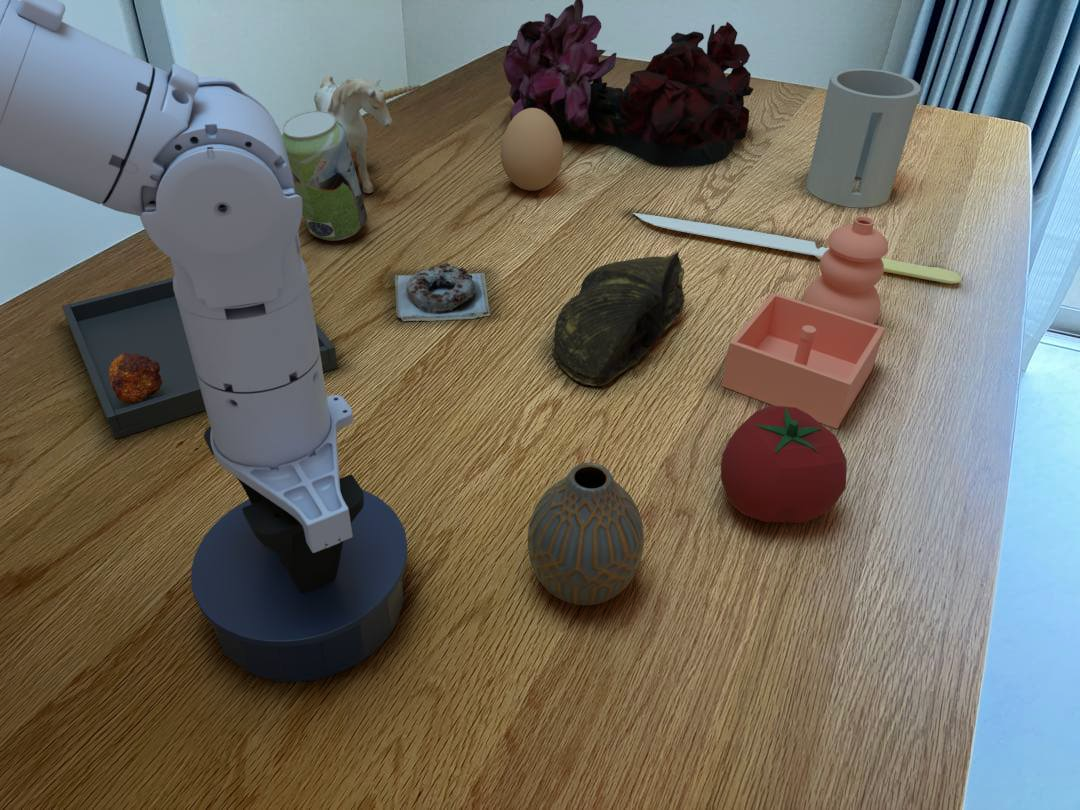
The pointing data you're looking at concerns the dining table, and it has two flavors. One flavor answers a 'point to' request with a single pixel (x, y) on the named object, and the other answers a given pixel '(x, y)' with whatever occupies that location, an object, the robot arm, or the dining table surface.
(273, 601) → the tin lid
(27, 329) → the dining table surface
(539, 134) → the egg
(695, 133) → the flower arrangement
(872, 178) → the cup
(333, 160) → the beverage can
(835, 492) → the tomato
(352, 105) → the unicorn figurine
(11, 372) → the dining table surface
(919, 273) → the knife
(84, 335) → the tray
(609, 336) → the seashell
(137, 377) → the meatball
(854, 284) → the pottery
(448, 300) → the donut
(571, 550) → the vase
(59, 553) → the dining table surface
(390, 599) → the tin
